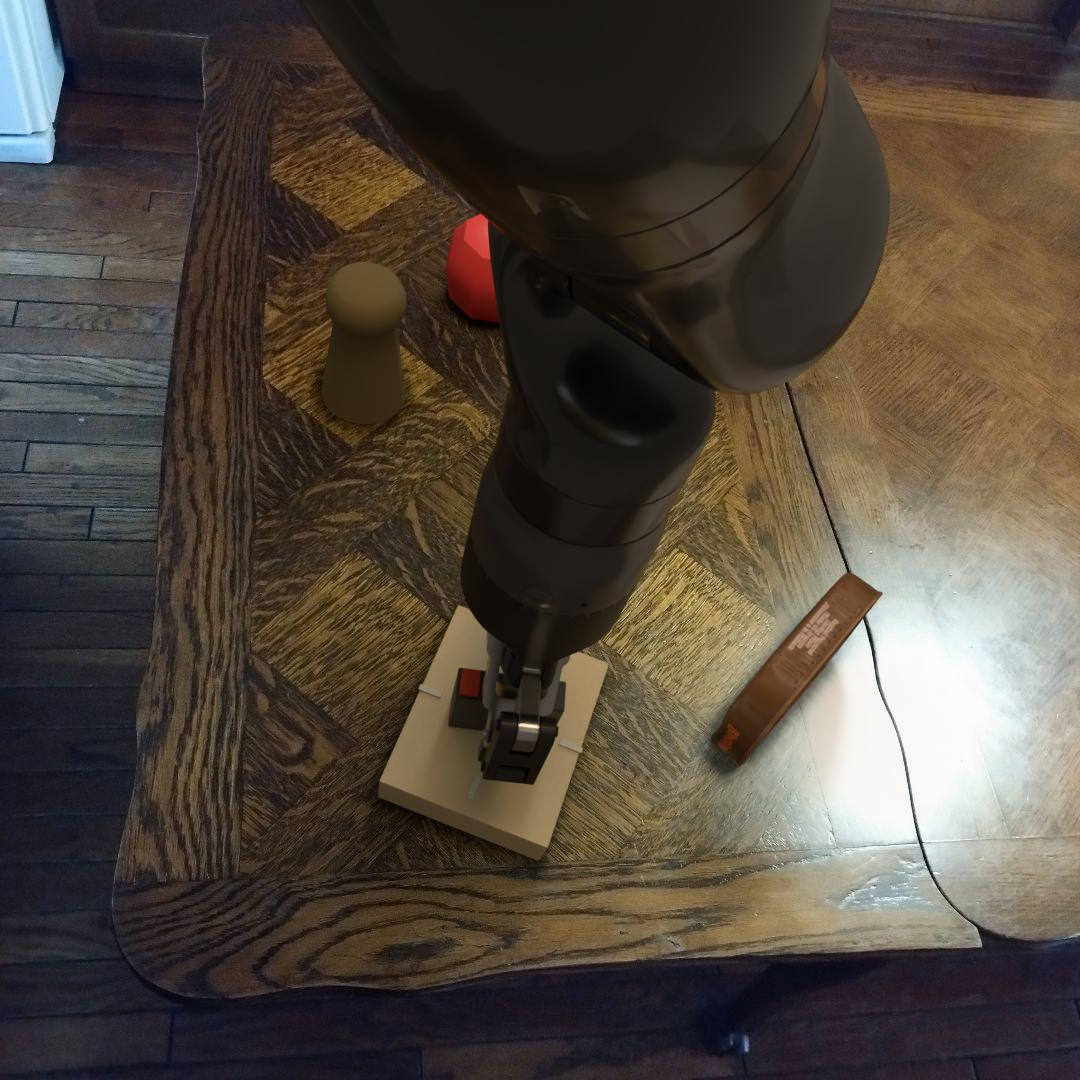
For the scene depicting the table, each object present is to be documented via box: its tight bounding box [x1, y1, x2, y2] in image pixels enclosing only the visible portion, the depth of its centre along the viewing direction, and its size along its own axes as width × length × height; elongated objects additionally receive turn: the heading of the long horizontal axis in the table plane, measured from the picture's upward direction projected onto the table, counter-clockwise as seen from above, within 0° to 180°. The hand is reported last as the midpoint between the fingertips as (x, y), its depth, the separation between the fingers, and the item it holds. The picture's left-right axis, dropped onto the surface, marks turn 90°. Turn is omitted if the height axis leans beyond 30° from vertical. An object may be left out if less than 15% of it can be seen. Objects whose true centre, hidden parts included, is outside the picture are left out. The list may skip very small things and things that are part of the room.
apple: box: [444, 213, 500, 324], centre depth 75 cm, size 8×8×8 cm
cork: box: [320, 261, 408, 425], centre depth 67 cm, size 6×6×11 cm
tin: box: [710, 572, 884, 768], centre depth 61 cm, size 15×3×8 cm, turn 137°
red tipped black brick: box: [448, 668, 566, 731], centre depth 55 cm, size 6×2×5 cm, turn 86°
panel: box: [377, 604, 610, 861], centre depth 59 cm, size 12×10×3 cm
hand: (503, 683), depth 54 cm, fingers open, 8 cm apart
